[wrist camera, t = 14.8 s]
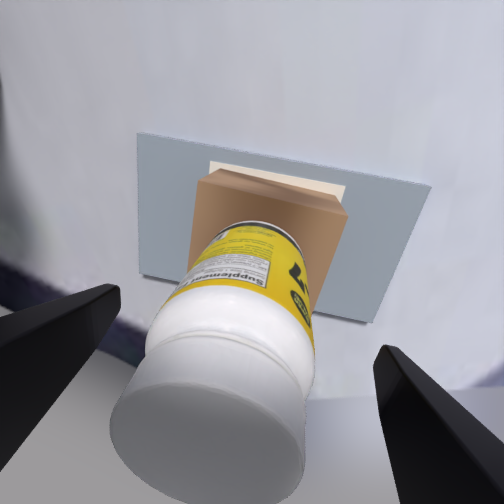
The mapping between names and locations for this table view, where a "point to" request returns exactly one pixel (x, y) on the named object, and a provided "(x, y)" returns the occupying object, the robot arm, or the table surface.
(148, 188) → the board
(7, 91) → the table surface
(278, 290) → the supplement bottle
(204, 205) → the block
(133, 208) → the table surface
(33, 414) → the robot arm
